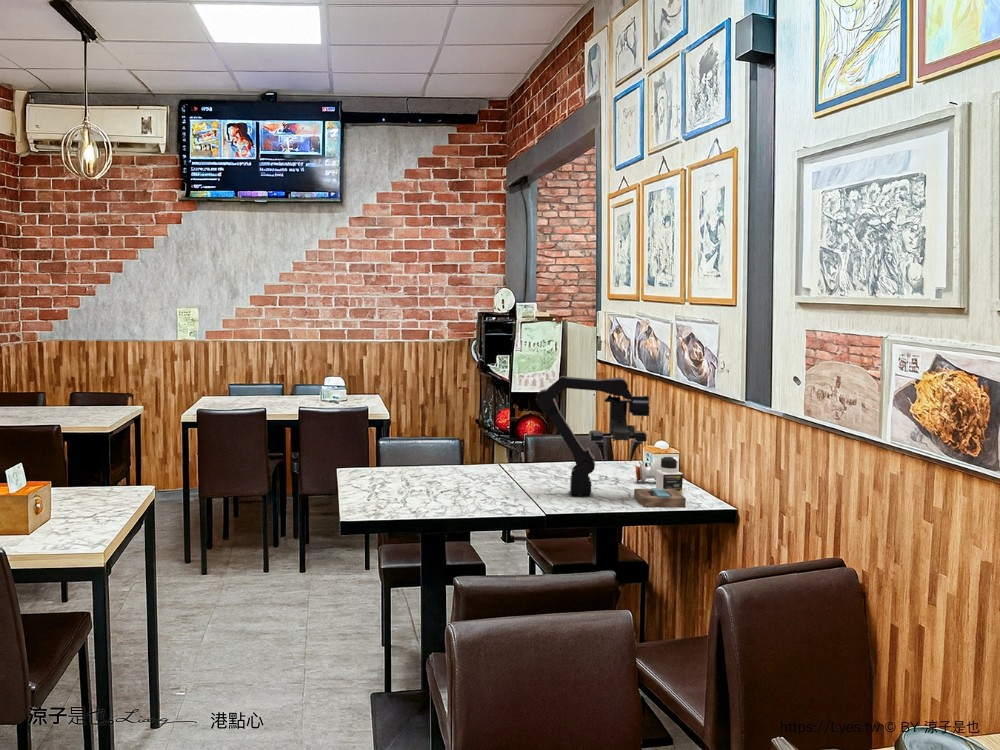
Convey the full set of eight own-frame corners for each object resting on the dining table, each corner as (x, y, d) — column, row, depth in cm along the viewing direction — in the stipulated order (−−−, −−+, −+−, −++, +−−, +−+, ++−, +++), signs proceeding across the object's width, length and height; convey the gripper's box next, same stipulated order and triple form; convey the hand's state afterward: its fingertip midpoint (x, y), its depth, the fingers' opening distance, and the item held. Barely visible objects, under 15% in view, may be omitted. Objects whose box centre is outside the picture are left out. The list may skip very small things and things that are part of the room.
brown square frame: (642, 506, 294) (642, 498, 294) (633, 497, 308) (634, 488, 308) (685, 507, 295) (685, 498, 295) (675, 497, 309) (675, 489, 309)
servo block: (657, 506, 296) (658, 495, 295) (651, 498, 307) (651, 488, 306) (670, 506, 296) (670, 495, 295) (663, 499, 307) (663, 488, 306)
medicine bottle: (662, 494, 314) (664, 459, 313) (655, 489, 321) (656, 456, 320) (682, 493, 315) (683, 459, 314) (674, 489, 322) (675, 455, 321)
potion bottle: (679, 488, 330) (638, 491, 332) (676, 468, 337) (635, 472, 339) (679, 470, 324) (636, 474, 326) (676, 451, 331) (634, 454, 333)
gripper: (594, 418, 298) (592, 465, 299) (650, 418, 299) (649, 466, 300) (589, 413, 309) (588, 459, 310) (643, 414, 310) (642, 459, 311)
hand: (616, 461), depth 308 cm, fingers open, 9 cm apart
